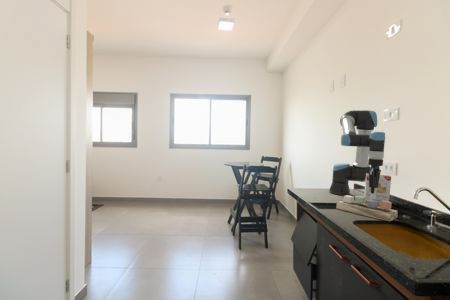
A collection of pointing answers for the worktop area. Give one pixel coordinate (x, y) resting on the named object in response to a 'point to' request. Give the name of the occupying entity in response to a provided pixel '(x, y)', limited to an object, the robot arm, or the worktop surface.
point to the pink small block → (385, 205)
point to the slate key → (372, 204)
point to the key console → (368, 210)
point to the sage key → (360, 200)
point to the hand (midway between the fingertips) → (372, 198)
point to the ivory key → (348, 199)
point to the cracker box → (379, 189)
